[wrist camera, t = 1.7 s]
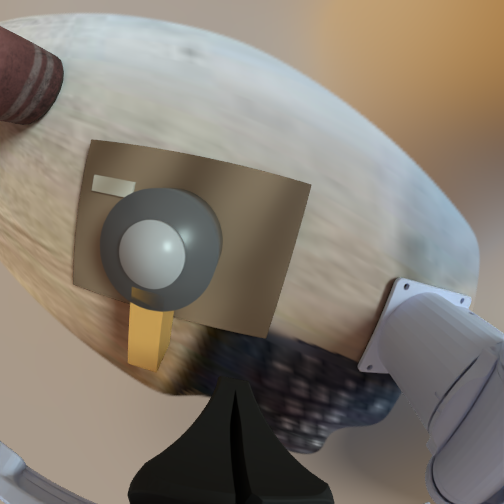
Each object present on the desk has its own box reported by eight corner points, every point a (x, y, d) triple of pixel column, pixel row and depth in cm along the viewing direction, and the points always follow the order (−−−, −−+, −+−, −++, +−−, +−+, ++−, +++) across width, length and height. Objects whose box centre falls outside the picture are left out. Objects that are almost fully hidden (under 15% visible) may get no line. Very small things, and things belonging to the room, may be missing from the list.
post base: (307, 184, 16) (312, 184, 15) (265, 331, 18) (265, 340, 17) (98, 141, 15) (89, 139, 14) (80, 279, 17) (71, 285, 16)
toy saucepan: (134, 179, 14) (104, 178, 11) (233, 200, 15) (229, 204, 11) (117, 327, 17) (93, 356, 13) (199, 352, 17) (190, 387, 13)
